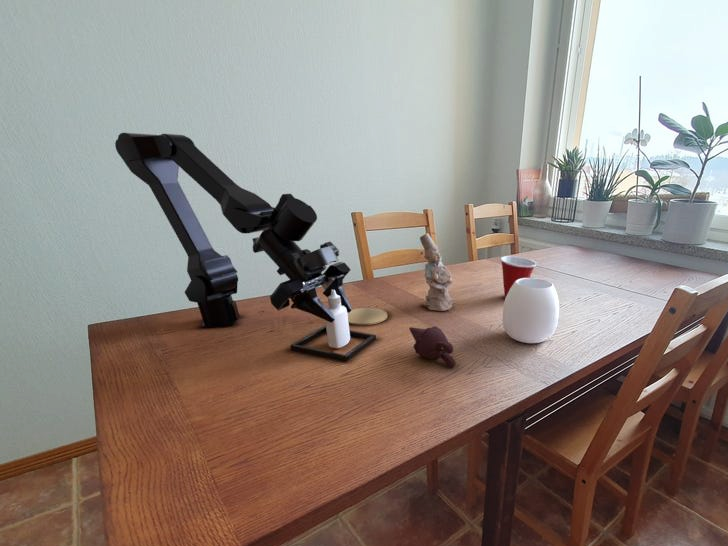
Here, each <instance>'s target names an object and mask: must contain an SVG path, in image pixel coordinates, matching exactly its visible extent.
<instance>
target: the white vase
mask: <svg viewBox="0 0 728 546" xmlns="http://www.w3.org/2000/svg"><path fill="white" fill-rule="evenodd" d="M559 313H560V301H559V296H558V293H557V289H556V287H555V284H553V282H551V281H549V280H547V279H543V278H539V277H538V278H537V277H530V278H521V279H518V280H516V281H515V282H514V284H513V285H512V287H511V288H510V290H509V292H508V294H507V296H506V298H505V299H504V304H503V309H502V318H501V320H502V321H501V322H502V327H503V329H504V331H505V332H506V334H507V335H508V336H509V337H510V338H511V339H512V340H515V341H517V342H520V343H526V344H539V343H543V342H545V341H547V339H549V338H550V337H552V336H553V334H554V333H555V331H556V330H557V328H558V323H559V315H560V314H559Z"/></svg>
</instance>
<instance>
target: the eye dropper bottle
mask: <svg viewBox="0 0 728 546" xmlns="http://www.w3.org/2000/svg"><path fill="white" fill-rule="evenodd" d="M327 304H328V307H327V309H328V310H329V312H330V313H331V314H332V316H333V317H334V319H335V320H334V321H333V322H332V323H331V322H329V321H326V320H324V321H325V326H326V330H327V332H326V335H327V336H326V337H327V343H328V347H329V348H332V349H341V348H343V347H344V346H346V345H348V344H349V342H350V341H351V336H350V331H349V330H350V324H349V323H348V315H347V309H346V307H345V306H342V305H341V299H340V296H339V295H337V294H336V292H335V290H331V295H330V296H328V297H327Z"/></svg>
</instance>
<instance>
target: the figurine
mask: <svg viewBox="0 0 728 546" xmlns="http://www.w3.org/2000/svg"><path fill="white" fill-rule="evenodd" d="M419 240H420V243H421V245H422V247H423V249H424V255H423V258H424V259H425V260H427V263H426V264H425V266H424V278H425V283H426V284H427V285H428V286H429V289H428V290H427V292H428V293H427V295H425V300H424V302H422V306H424V307H426V308H427V309H428V310H430V311H437V312H438V311H439V312H445V311H447V310H448V311H449V310H450V309H451V308H452V307H453V300H452V299H451V293H450V291H449V290H448V287H449V286H450V285H451V284H453V279H452V274H451V272H450V270H449V269H448V267H447V266H445V265H444V263H443V262H442V260H443V259H442V258H443V254H441V253H440V248H439V247H438V246H437V245H436V243H435V242H434V240H433V239H432V237H431V235H430V234H429V233H428V232H427V233H425V234H423V235H421V236H420V237H419Z"/></svg>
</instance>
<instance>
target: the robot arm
mask: <svg viewBox="0 0 728 546" xmlns="http://www.w3.org/2000/svg"><path fill="white" fill-rule="evenodd" d="M114 144H115V145H114V146H115V150H116V152H117V155H119V157H120V158H121V159H122V162H124V164H125V166H126V167H127V168H128V169H129V171H130V172H131V174H133V175H134V176H135V177H137V178H138V179H140V180H141V181H142V182H143V183H145V184H147V186H149V188H150V190H151V192H152V193H153V195H154V197H155V199H156V201H157V202H158V204H159V206H160V208H161V210H162V212H163V214H164V215H165V217H166V219H167V221H168V222H169V224H170V226H171V228H172V230H173V232H174V234H175V236H176V237H177V239H178V240H179V242H180V244H181V247H182V249H184V251H185V253H186V255H187V266H186V270H187V271H186V272H187V275H188V276H189V279H190V282H189V284H188V285H187V287H186V289H185V290H184V294H185V296H186V298H187V299H188V301H189V302H191V303H196V304H197V307H198V309H199V312H200V316H201V319H202V324H201V327H202V328H218V327H231V326H232V327H233V326H235V325H236V323H237V321H238V320H239V318H240V315H241V314H240V313H239V309H238V308H239V307H238V305H237V302H236V300H233V297H232V296H233V295H237V293H238V283H239V277H238V270H237V269H236V268H235V266H234V265H233V262H232V259H231V258H230V257H229V255H227V254H225V255H221V254H220V253H219V252H217V251H216V250H215V249H214V248H213V246H212V244H211V242H210V240H209V238H208V236H207V235H206V232H205V230H204V228H203V227H202V225H201V223H200V221H199V219H198V217H197V215H196V213H195V211H194V209H193V208H192V205H191V204H190V202H189V200H188V198H187V196H186V194H185V192H184V190H183V188H182V187H181V185H180V182H179V180H178V178H179V168H180V169H181V170H182V171H183V172H184V173H186V174H187V175H188V176H189V177H190V178H191V179H192V180H193V181H194V182H196V183H197V185H199V186H200V187H201V188H202V189H203V190H204V191H205V192H207V194H209V195H210V196H211V197H212V198H213V199H215V201H216V202H217V203H218V204H219V205H220V209H221V213H222V215H223V217H224V218H225V219H226V220H227V221H228V223H230V225H232V227H233V228H234V229H235V230H236V231H237V232H238V233H241V234H252V233H258V232H261V233H260V234H259V236H258V237H253V238H252V252H253V253H254V254H256V253H261V252H264V253H265V254H266V255H267V256H268V257H269V258H270V259H271V261H272V262H273V263H274V264H275V265H276V266H277V267H278V269H276V273H277V274H279V276H282V275H285V276H286V277H287V278H288V280H285V281H283V282H280V283H279V284H278V285H277V287H276V288H275V290H274V291H273V292H272V293H271V295H270V296H269V299H270V300H269V301H270V303H271V306H273V308H275V309H276V310H277V311H278V312H279V311H281V310H284V309H286V308H288V307H290V309H292V310H294V309H296V310H298V311H302V312H305V313H308V314H310V315H313V316H315V317H317V318H320V319H322V320H323V321H325V320H326V321H329V322H331V323H332V322H333V321H334V320H335V319H334V317H333V316H332V314H331V313H330V312H329V310H328V307H326V305H325V304H324V303H323V302H322V300H321V299H320V298H319V297H318V293H317V289H316V288H318V287H320V286H321V287H322V288H323V289H324V291H323V292H322V295H324V296H325V297H326V298H328V296H330V295H331V290H335V292H336V294H337V295H339V296H340V299H341V305H342V306H345V307H346V309H347V312H348V313H349V312H351V311H352V310H353V308H352V307H351V303H350V302H349V299H348V296H347V295H346V292H345V289H344V285H343V284H344V279H345V277H346V276H347V275H348V274H349V272H350V271H351V268H350V267H349V265H347V264H346V262H343V261H339V258H338V257H339V256H340V249H338V248H337V246H336V245H335V244H334V243H333V242H331V241H326V242H324V243H322V244H320V245H319V248H317V249H315V250H313V251H311V250H310V249H308V248H305V249H302V248H301V247H300V246H299V245H298V243H296V242H300V241H302V240H303V239H304V238H305V236H306V235H307V233H309V231H310V229H311V228H312V227H313V226H314V224H315V223H316V222H317V220H318V215H317V213H316V210H314V208H313V207H312V206H311V205H308V204H307V203H306V202H305V201H303V200H301V199H299V198H296V197H294V195H293V194H292V193H282V194H281V196H280V197H279V200H278V202H277V204H276V206H275V207H273V206H272V205H271V204H270V203H269V202H268V201H267V200H265V199H263V198H262V197H260V196H259V195H258V194H256V193H255V192H252V191H251V190H247V189H245V188H242V187H241V186H240V185H238V184H237V183H236V182H234V180H232V178H230V177H229V176H228V175H227V174H226V173H225V172H224V171H223V170H222V169H221V168H220V167H219V166H218V165H216V163H214V162H213V161H212V160H211V159H210V158H209V157H207V156H206V154H204V152H202V151H201V150H200V149H199V148H198V147H197V146H196V145H195V143H194V140H192V139H191V138H190V137H189V136H186V135H183V134H176V133H175V134H173V133H161V134H149V133H135V132H120V133H119V134H118V135H117V139H116V140H115V142H114ZM331 263H333V264H331ZM328 265H329V266H328ZM327 266H328V267H327ZM290 301H291V302H292V304H291V305H290Z"/></svg>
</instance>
